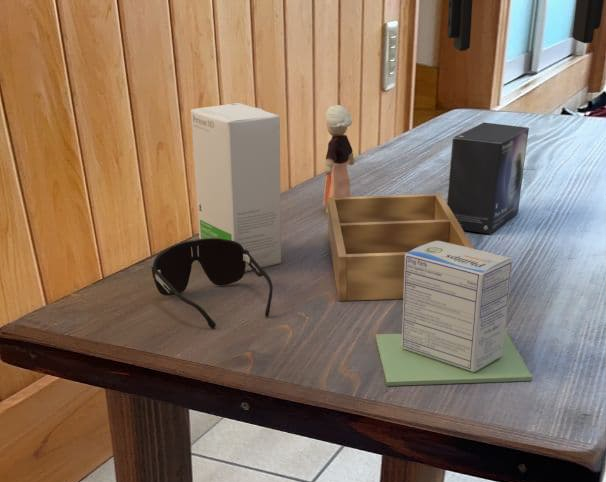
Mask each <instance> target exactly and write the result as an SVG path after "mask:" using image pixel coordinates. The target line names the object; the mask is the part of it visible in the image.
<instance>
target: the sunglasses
mask: <svg viewBox="0 0 606 482" xmlns="http://www.w3.org/2000/svg"><path fill="white" fill-rule="evenodd" d="M196 261H197V262H199V265H200V266H201V268H202V270H203V272H204V274H205V275H206V277H207V278H208V280H209V281H210V282H211V283H212V284H213V285H215V286H228V285H231V284H234V283H237V282H238V281H240V280H241V279H243V277H244V276H245V274H246V272H245V267H246V262H247V264H248V265H249V266H250V267H251V268H252V270H251V271H253V272H254V273H255V274H256V276H257V277H258V278H260V277H261V278H262V277H263V278H264V279H265V281H266V282H267V284H268V288H269V292H268V298H267V303H266V308H265V310H264V311H265V312H264V316H265V317H266V318H269V316H270V312H271V311H270V309H271V304H272V299H273V282H272V279H271V277H270V276H269V274H268V273H267V271H265V270H264V269H263V268H261V267H260V266H259V265H258V264H257V262H256V261H255V260H254V259H253V258H252V256H251V255H250V254H249V251H248V250H244V249H243V247H242V246H241V244H239V243H238V242H235V241H232V240H226V239H221V238H204V239H200V238H197V239H191V240H186V241H182V242H179V243H176V244H173V245H171V246H169V247H167V248H166V249H164V250H162V251H161V252H159V253H158V254H157V255H156V257H155V258H154V260H153V263H152V264H153V265H152V266H151V274H152V278H153V280H154V283H155V286H156V289H157V291H158V292H159V294H161V295H162V296H167V297H169V296H170V297H171V296H176V297H177V298H178V299H179V300H181V301H182V302H183V303H186V304H187V305H190V306H191V307H193V308H195V309H196V310H197V311H198V312H199V313H200V314H201V315H202V317H203V318H204V319H205V320H206V323H207V325H208V327H210V328H211V329H216V325H217V324H216V323H215V321H214V320H213V319H212V318H211V317H210V315H209V314H208V313H207V312H206V311H205V309H204V308H202V307H201V306H200V305H199V304H197V303H196V302H194V301H192V300H191V299H188V298H186V297H185V296H184V295H182V293H183V292H185V290H186V289H187V287H188V285H189V281H190V277H191V273H192V268H193V263H194V262H196Z"/></svg>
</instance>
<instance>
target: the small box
mask: <svg viewBox="0 0 606 482" xmlns="http://www.w3.org/2000/svg"><path fill="white" fill-rule="evenodd" d="M529 131H530V128H529V127H527V126H517V125H509V124H502V123H501V124H500V123H492V122H485V121H484V122H482V123H479V124H477V125H475V126H473V127H471V128H470V129H467V130H466V131H464V132H461V133H459V134H457V135H455V136H453V137H452V142H451V151H450V165H449V175H448V189H447V199H446V203H447V204H448V206H449V208H450V209H451V211H452V213H453V214H454V216H455V218H456V219H457V221H458V223H459V224H460V226H461V227H462V229H463V231H465V232H467V231H468V232H474V233H480V234H487V235H489V234H493V233H494V232H495V231H496V230H497V229H499V228H500V227H501V226H503V225H505V224H506V223H508V221H510V220H511V219H512V218H513V217H515V216H517V215H519V208H520V200H521V193H522V185H523V177H524V168H525V160H526V152H527V145H528V139H529Z"/></svg>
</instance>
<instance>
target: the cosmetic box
mask: <svg viewBox="0 0 606 482" xmlns="http://www.w3.org/2000/svg"><path fill="white" fill-rule="evenodd" d="M190 119H191V121H190V122H191V133H192V149H193V162H194V163H193V164H194V177H195V179H194V180H195V192H196V208H197V223H198V237H199V238H198V239H204V238H221V239H226V240H232V241H235V242H238V243H239V244H241V246H242V247H243V249H244V250H248V251H249V254H250V255H251V256H252V258H253V259H254V260H255V261H256V262H257V264H258V265H259V266H260V267H261V268H262V269H263V268H267V267H270V266H275V265H279V264H282V225H281V224H282V218H281V216H282V209H281V208H282V207H281V198H282V197H281V116H280V115H278V114H275V113H272V112H268V111H266V110H264V109H262V108H260V107H256V106H255V107H254V106H251V105H250V106H249V105H247V104H243V103H241V102H235V103H227V104H220V105H214V106H212V105H211V106H205V107H198V108H192V109H190ZM250 271H253V270H252V268H251V267H250V266H249V265H248V264H247V262H246V267H245V273H247V272H250Z"/></svg>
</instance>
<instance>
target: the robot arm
mask: <svg viewBox="0 0 606 482" xmlns="http://www.w3.org/2000/svg"><path fill="white" fill-rule="evenodd" d="M473 2H474V1H473V0H448V4H447V5H448V6H447V27H446V29H447V30H446V31H447V32H446V33H447V38H448V39H453V48H455V49H456V50H458V51H459V52H464V51H465V52H466V51H468V49H470V47H471V36H472V35H471V32H472V19H473V17H472V14H473ZM603 8H604V0H576V2H575V10H574V16H573V17H574V18H573V26H572V35H571V36H572V39H574V40H575V41H578V42H579V43H583V44H592V43H593V41H594V35H595V30H599V29H600V27H601V22H602V16H603V10H604V9H603Z"/></svg>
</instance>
